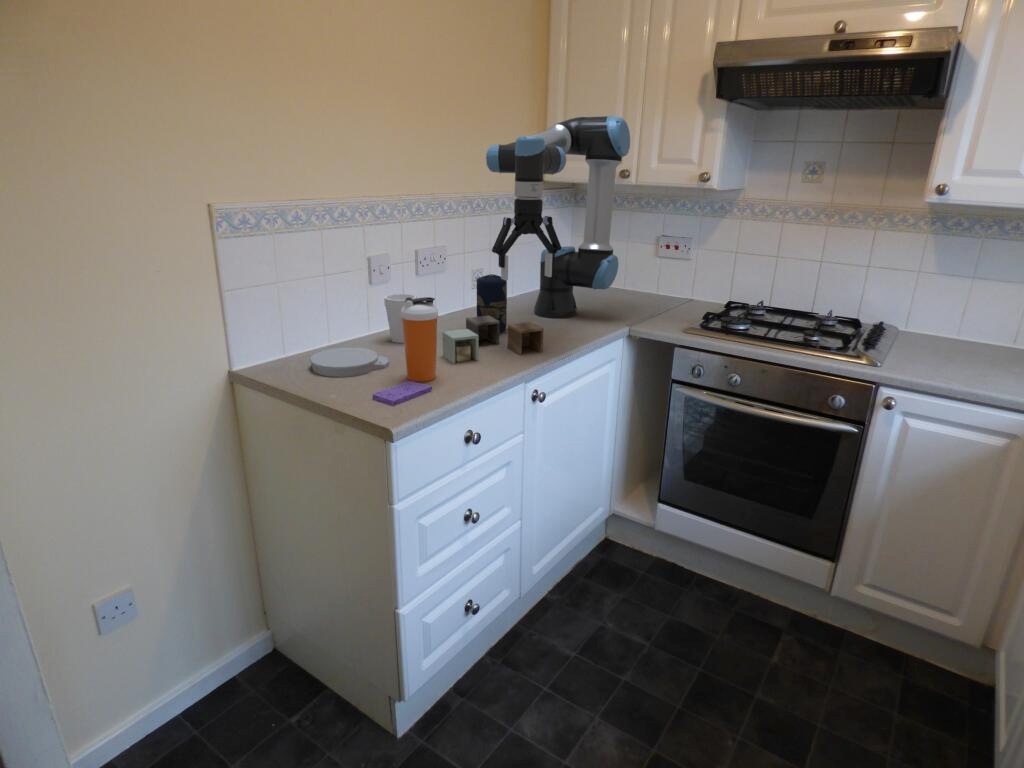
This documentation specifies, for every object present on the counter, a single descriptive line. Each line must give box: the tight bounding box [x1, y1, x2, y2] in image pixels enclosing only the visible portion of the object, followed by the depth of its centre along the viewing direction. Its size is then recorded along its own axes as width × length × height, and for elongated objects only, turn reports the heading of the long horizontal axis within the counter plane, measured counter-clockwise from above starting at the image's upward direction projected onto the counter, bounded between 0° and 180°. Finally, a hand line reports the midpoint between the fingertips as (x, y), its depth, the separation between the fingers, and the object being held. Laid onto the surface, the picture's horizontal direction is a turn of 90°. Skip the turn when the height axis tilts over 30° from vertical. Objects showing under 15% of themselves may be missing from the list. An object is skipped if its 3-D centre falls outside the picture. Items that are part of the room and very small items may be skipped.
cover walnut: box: [507, 321, 544, 356], centre depth 185 cm, size 8×8×7 cm
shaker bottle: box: [401, 296, 439, 383], centre depth 158 cm, size 9×9×20 cm
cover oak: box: [465, 316, 501, 345], centre depth 191 cm, size 8×8×7 cm
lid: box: [309, 347, 390, 378], centre depth 169 cm, size 17×20×3 cm
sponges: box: [372, 380, 433, 406], centre depth 150 cm, size 7×13×2 cm, turn 144°
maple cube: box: [455, 342, 472, 362], centre depth 176 cm, size 4×4×4 cm
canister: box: [476, 273, 508, 333], centre depth 202 cm, size 10×10×18 cm
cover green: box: [442, 328, 480, 365], centre depth 176 cm, size 8×8×7 cm
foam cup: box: [383, 293, 418, 344], centre depth 192 cm, size 10×9×13 cm
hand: (526, 277), depth 179 cm, fingers open, 13 cm apart
